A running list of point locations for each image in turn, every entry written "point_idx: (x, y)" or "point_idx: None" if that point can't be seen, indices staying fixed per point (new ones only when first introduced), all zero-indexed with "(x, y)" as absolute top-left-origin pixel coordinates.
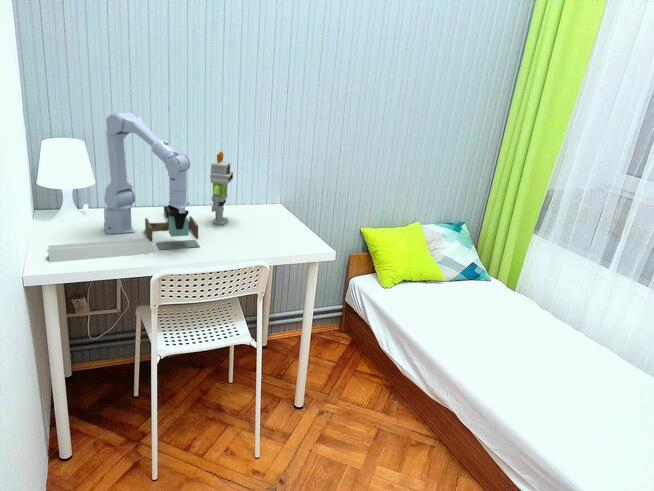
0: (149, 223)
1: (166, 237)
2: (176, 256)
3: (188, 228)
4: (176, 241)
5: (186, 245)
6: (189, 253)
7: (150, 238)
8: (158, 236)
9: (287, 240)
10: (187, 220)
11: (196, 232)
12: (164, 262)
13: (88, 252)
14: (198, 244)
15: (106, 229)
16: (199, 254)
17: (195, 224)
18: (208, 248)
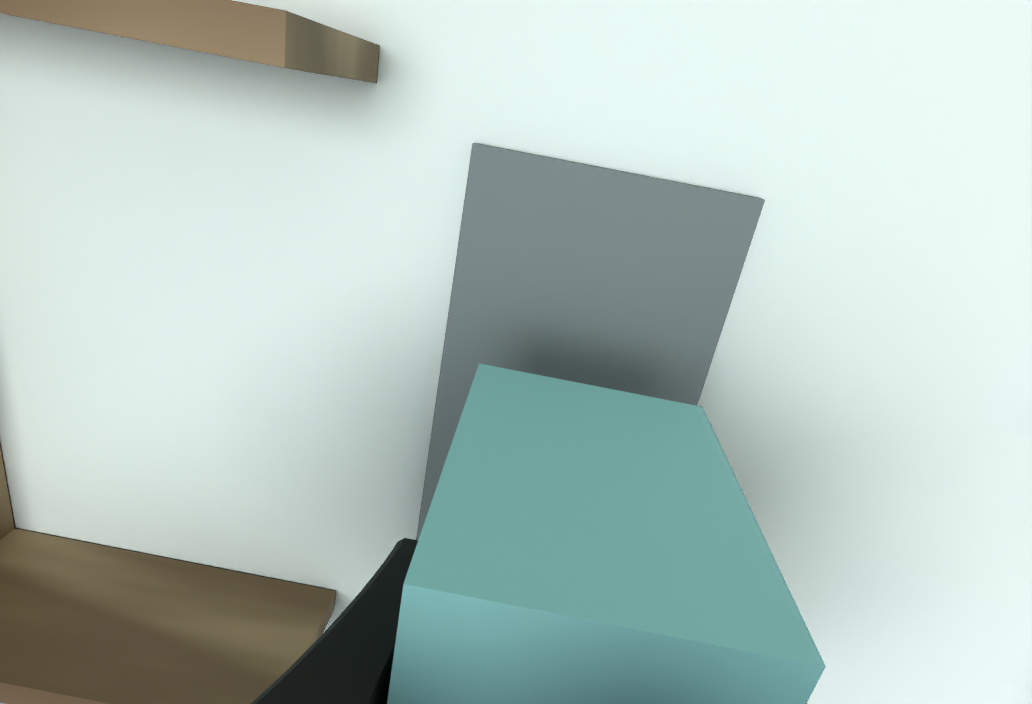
0: (61, 698)
1: (248, 433)
2: (876, 559)
3: (737, 486)
4: (455, 407)
5: (647, 356)
6: (883, 410)
7: (322, 630)
8: (198, 494)
9: None
10: (800, 670)
11: (340, 71)
12: (948, 694)
13: None
14: (687, 186)
15: None
16: (996, 315)
17: (181, 42)
18: (872, 88)
